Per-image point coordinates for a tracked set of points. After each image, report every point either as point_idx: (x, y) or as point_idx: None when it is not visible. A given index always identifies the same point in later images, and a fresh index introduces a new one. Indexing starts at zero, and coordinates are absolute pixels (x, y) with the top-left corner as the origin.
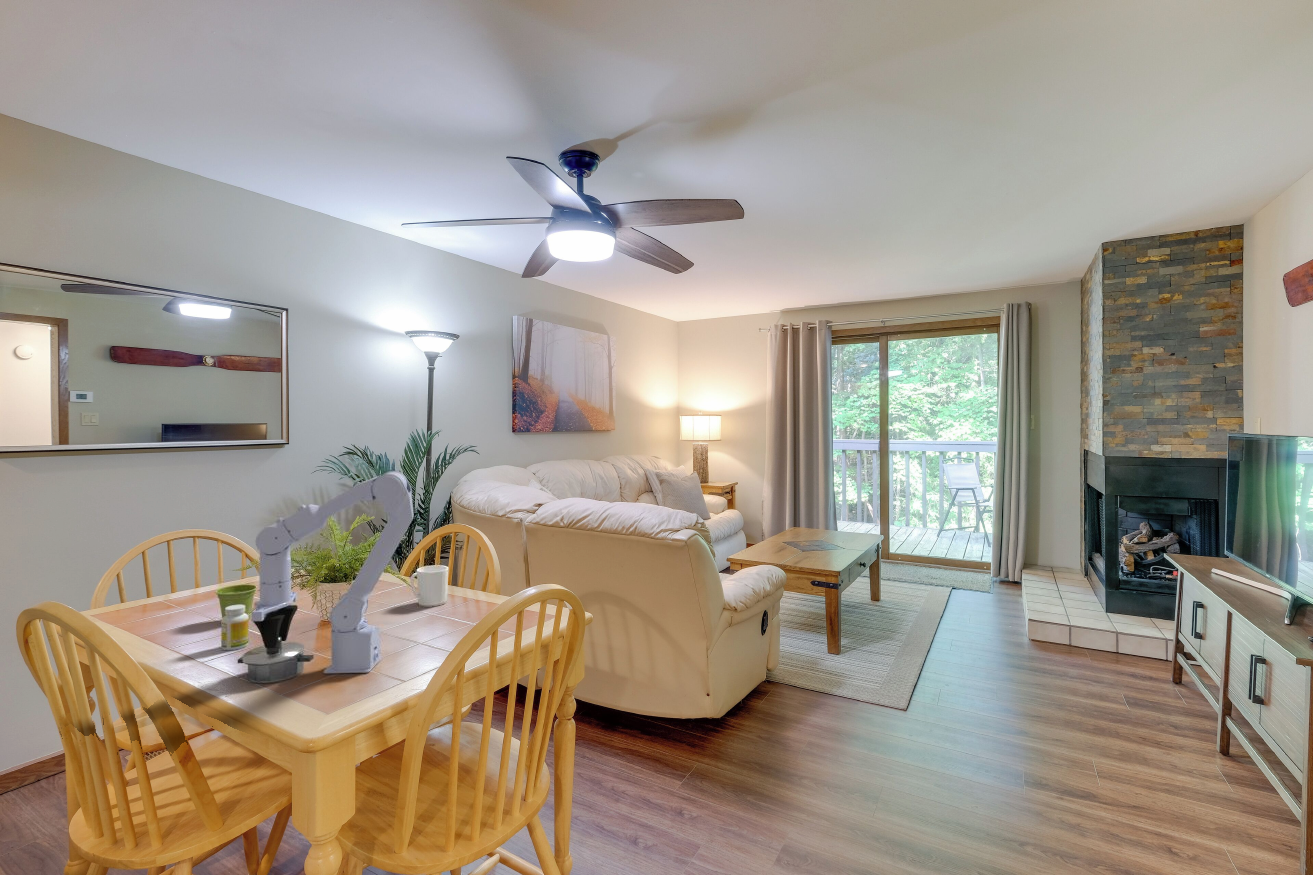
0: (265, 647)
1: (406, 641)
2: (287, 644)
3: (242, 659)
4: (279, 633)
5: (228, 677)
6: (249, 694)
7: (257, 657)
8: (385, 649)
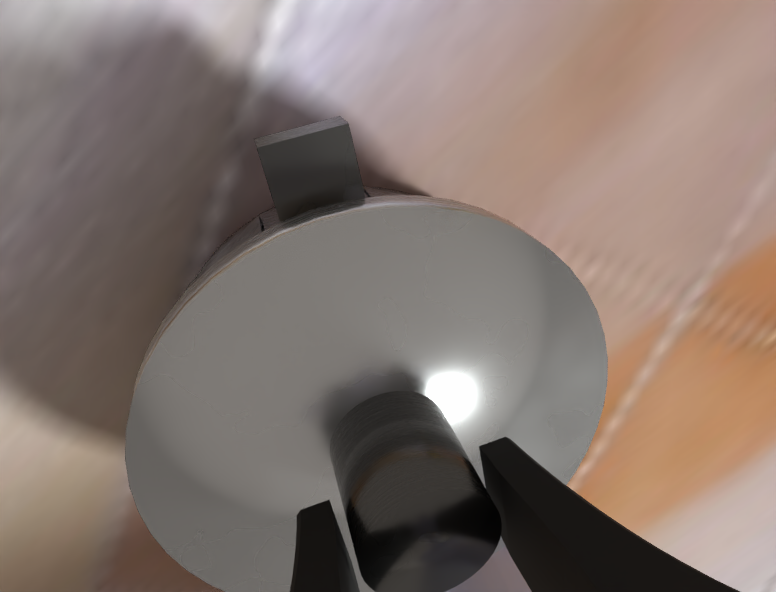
0: (297, 517)
1: (772, 567)
2: (556, 404)
3: (272, 196)
4: (524, 536)
5: (207, 47)
6: (14, 457)
7: (232, 430)
8: (690, 564)
